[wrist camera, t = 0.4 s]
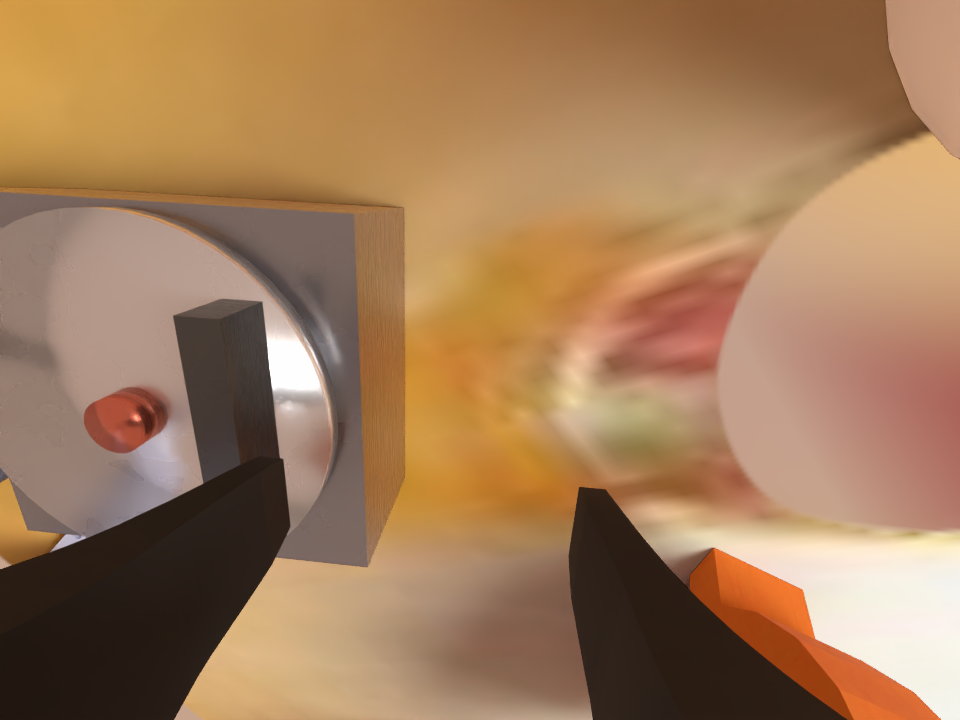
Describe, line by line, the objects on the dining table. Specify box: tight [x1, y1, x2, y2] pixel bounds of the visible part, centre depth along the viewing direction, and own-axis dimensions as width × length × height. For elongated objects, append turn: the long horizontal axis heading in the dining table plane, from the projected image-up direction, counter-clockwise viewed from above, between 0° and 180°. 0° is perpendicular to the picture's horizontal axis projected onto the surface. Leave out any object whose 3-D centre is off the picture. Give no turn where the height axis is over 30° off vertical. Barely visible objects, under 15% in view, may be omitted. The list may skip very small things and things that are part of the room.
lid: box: [0, 207, 338, 538], centre depth 14 cm, size 13×13×3 cm
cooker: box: [0, 187, 405, 567], centre depth 18 cm, size 27×13×8 cm, turn 87°
